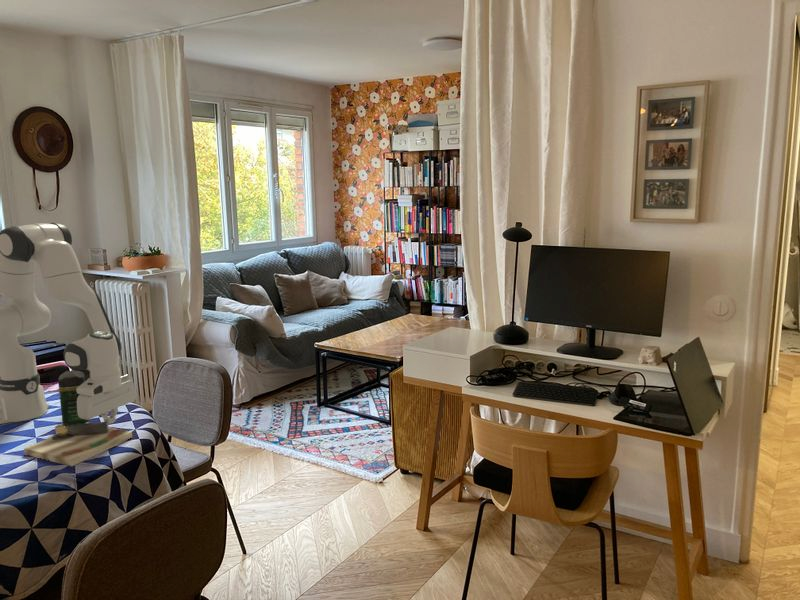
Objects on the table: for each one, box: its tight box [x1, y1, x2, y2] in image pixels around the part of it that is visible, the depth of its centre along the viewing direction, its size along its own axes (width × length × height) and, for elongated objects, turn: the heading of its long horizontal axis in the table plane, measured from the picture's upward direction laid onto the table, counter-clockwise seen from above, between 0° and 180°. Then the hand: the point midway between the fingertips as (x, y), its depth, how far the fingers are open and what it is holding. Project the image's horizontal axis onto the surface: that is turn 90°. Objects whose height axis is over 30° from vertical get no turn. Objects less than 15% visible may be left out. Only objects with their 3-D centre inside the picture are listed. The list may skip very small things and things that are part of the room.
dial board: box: [23, 426, 133, 467], centre depth 193 cm, size 20×22×2 cm
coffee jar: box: [57, 370, 90, 424], centre depth 207 cm, size 10×8×19 cm
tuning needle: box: [54, 421, 109, 438], centre depth 196 cm, size 15×4×3 cm, turn 101°
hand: (110, 422), depth 201 cm, fingers closed
